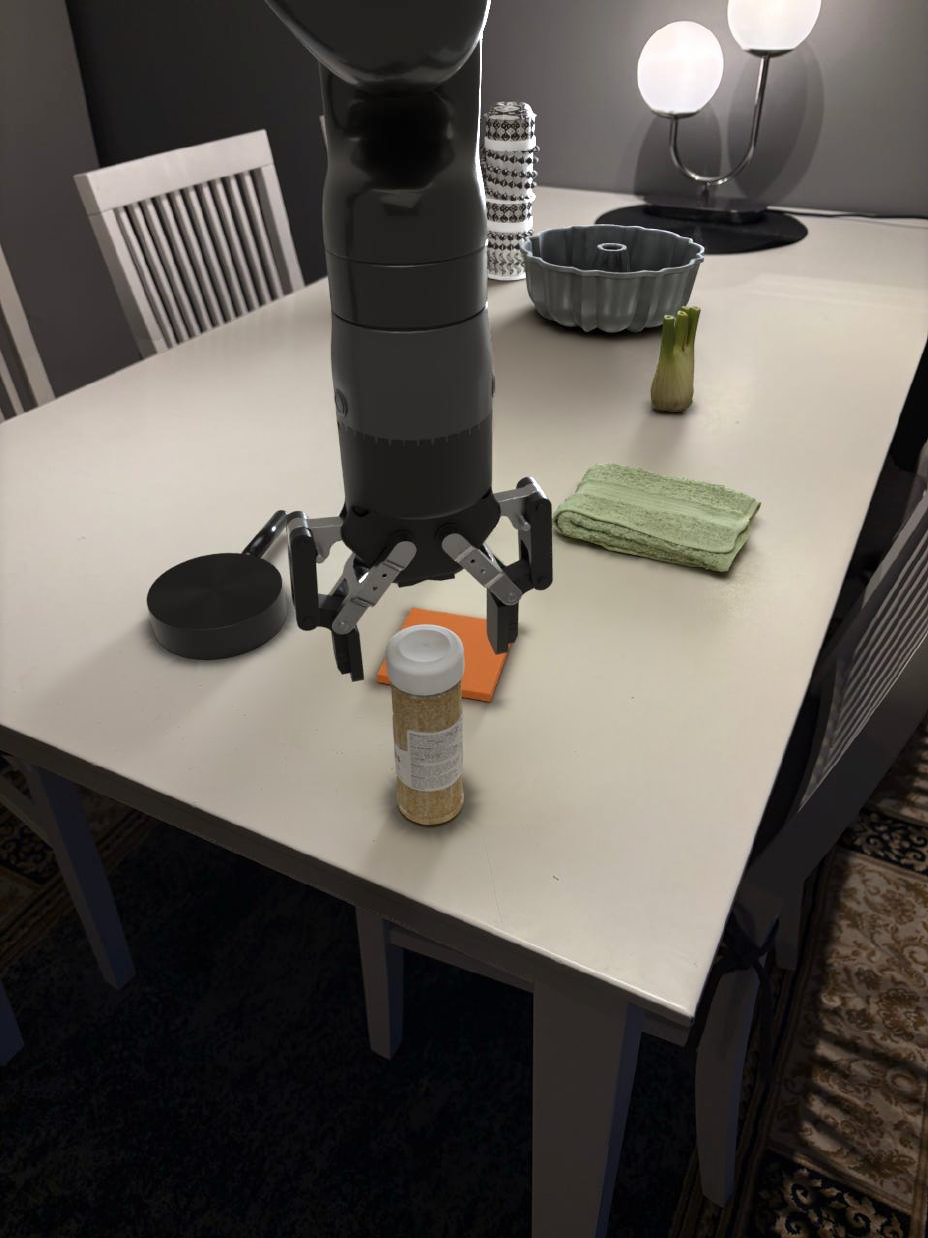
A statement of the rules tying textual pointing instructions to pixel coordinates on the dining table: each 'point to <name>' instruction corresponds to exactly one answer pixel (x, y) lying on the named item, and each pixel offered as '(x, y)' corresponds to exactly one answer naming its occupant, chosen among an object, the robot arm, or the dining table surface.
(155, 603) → the pan
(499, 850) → the dining table surface
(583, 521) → the washcloth
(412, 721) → the sprinkles bottle
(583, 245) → the bundt pan
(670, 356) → the fennel bulb
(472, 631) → the orange square coaster
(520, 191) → the decorative candle
